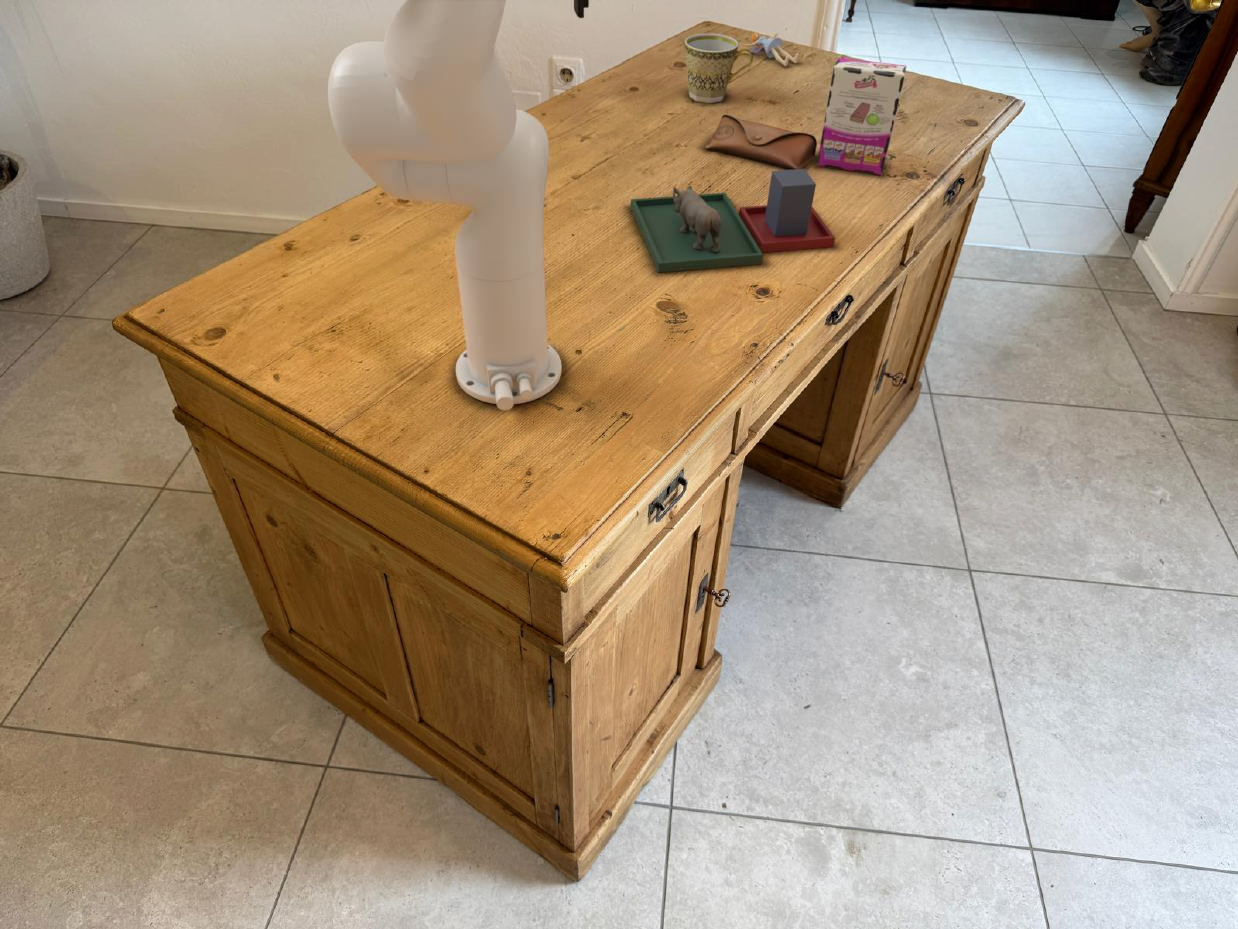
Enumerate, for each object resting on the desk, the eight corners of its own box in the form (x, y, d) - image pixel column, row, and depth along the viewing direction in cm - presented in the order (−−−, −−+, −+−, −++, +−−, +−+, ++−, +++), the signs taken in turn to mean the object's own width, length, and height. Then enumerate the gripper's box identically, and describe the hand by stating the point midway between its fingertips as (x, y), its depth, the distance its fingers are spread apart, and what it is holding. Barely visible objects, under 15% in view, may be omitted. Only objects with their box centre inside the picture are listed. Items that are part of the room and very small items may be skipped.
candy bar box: (884, 164, 150) (908, 64, 139) (882, 176, 147) (906, 75, 135) (819, 154, 152) (837, 55, 141) (815, 166, 149) (833, 65, 138)
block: (806, 234, 131) (816, 183, 125) (774, 237, 130) (782, 186, 124) (795, 218, 134) (804, 168, 129) (764, 220, 134) (771, 170, 128)
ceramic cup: (675, 102, 168) (679, 47, 161) (687, 83, 175) (692, 30, 168) (742, 111, 165) (749, 56, 158) (752, 92, 172) (759, 38, 165)
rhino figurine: (685, 208, 136) (688, 171, 132) (725, 251, 127) (730, 213, 122) (661, 212, 135) (663, 175, 130) (699, 256, 125) (703, 218, 121)
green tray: (761, 263, 125) (763, 254, 124) (658, 272, 123) (658, 263, 122) (724, 201, 139) (725, 192, 138) (630, 207, 137) (630, 198, 136)
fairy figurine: (776, 53, 178) (735, 30, 184) (770, 76, 182) (730, 53, 187) (813, 42, 184) (773, 20, 189) (807, 65, 187) (768, 42, 193)
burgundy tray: (833, 246, 129) (835, 237, 128) (760, 252, 128) (762, 243, 127) (807, 210, 137) (808, 201, 136) (738, 215, 136) (739, 206, 135)
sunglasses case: (701, 147, 152) (712, 107, 150) (713, 154, 158) (723, 116, 157) (801, 170, 146) (813, 129, 145) (808, 177, 153) (820, 137, 151)
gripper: (448, -156, 87) (465, 29, 98) (620, -157, 89) (617, 23, 101) (444, -169, 92) (461, 8, 104) (607, -170, 95) (605, 3, 106)
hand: (538, 15), depth 102 cm, fingers open, 9 cm apart
